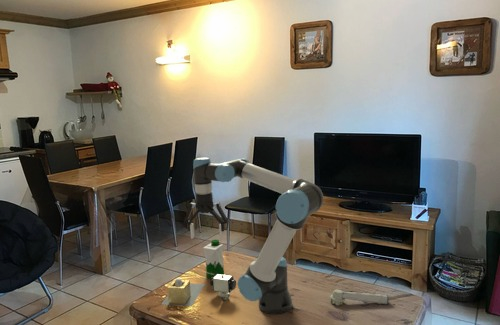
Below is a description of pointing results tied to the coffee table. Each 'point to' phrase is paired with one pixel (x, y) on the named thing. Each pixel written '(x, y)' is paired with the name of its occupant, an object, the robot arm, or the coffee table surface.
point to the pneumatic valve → (223, 285)
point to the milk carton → (214, 259)
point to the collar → (179, 292)
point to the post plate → (194, 290)
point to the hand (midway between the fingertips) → (207, 238)
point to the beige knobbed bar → (357, 297)
